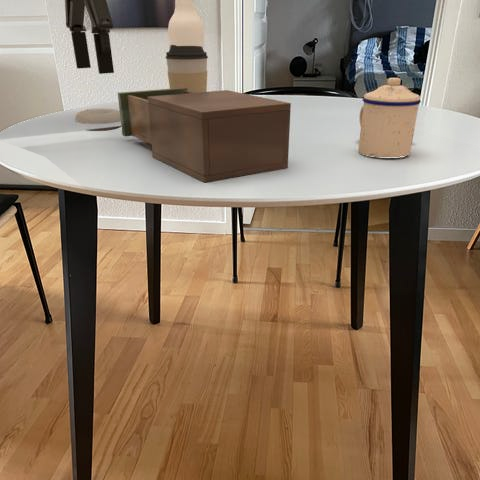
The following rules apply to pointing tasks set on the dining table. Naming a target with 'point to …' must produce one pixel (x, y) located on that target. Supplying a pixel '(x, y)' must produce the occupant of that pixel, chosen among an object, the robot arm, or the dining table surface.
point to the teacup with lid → (388, 120)
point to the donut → (99, 118)
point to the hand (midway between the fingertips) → (94, 70)
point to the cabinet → (219, 133)
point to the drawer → (140, 111)
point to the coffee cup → (187, 68)
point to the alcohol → (185, 25)
